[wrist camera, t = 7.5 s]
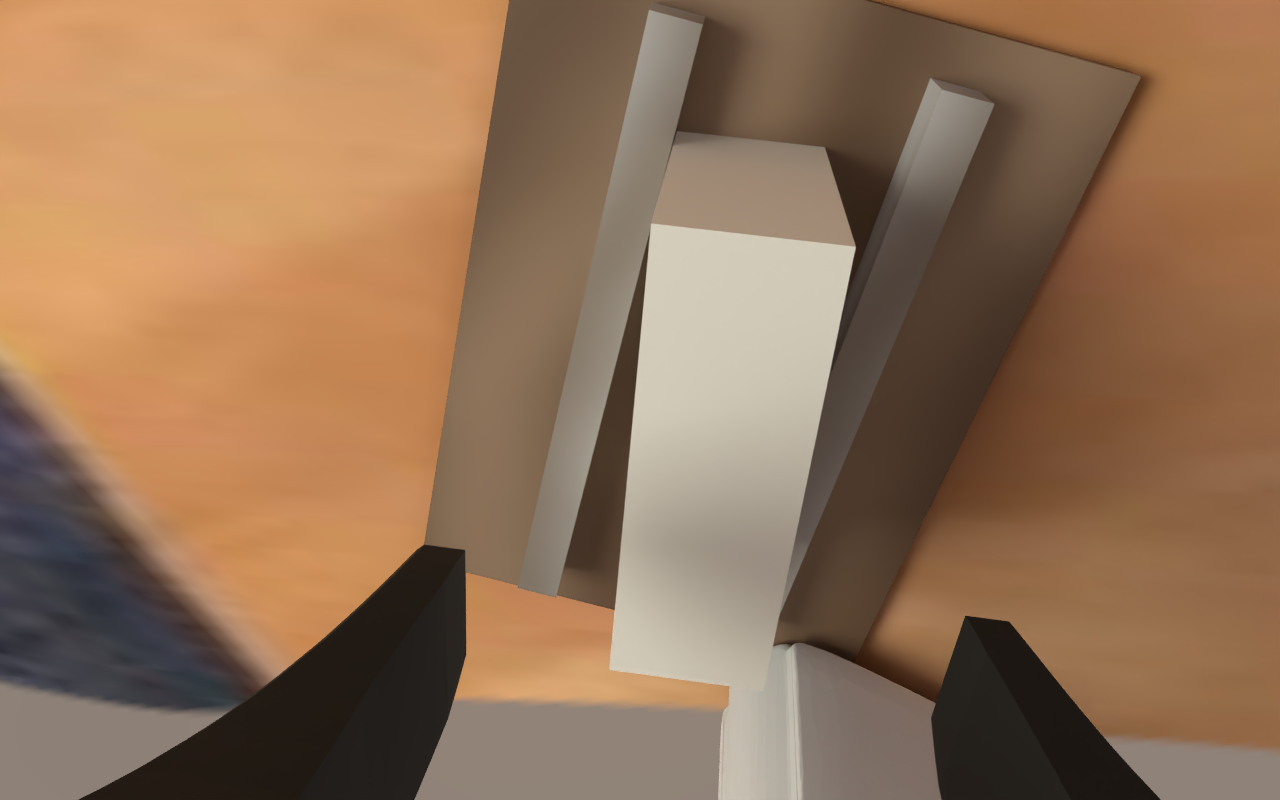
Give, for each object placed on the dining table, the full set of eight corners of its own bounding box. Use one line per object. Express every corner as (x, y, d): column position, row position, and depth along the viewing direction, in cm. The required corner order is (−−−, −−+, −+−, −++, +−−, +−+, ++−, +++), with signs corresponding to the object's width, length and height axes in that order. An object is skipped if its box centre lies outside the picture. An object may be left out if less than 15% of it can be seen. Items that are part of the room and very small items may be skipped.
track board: (1133, 72, 18) (1166, 87, 16) (848, 658, 26) (854, 703, 24) (528, -94, 18) (509, -92, 16) (425, 551, 25) (407, 590, 24)
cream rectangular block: (824, 147, 19) (855, 246, 14) (758, 509, 23) (763, 690, 18) (676, 131, 19) (650, 223, 14) (640, 494, 23) (609, 669, 18)
